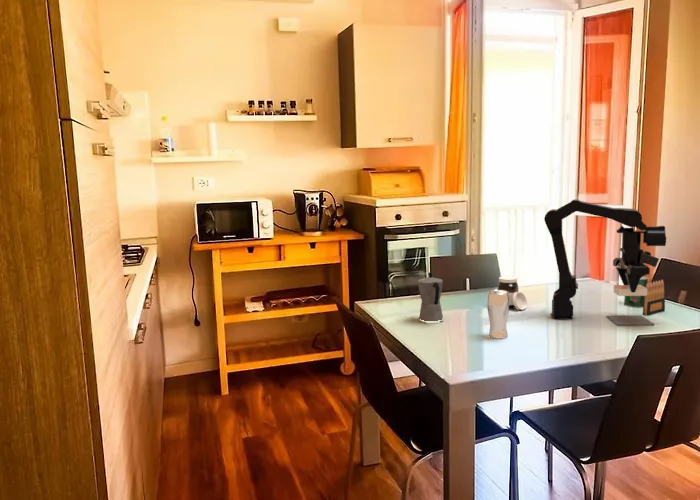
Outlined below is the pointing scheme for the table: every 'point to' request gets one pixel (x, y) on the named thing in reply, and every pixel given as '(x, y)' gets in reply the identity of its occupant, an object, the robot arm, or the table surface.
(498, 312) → the beer glass
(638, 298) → the canned tomato
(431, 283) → the coffeepot
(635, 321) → the card mat
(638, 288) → the card deck
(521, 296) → the spread jar
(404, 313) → the table surface
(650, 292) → the ammunition clip
